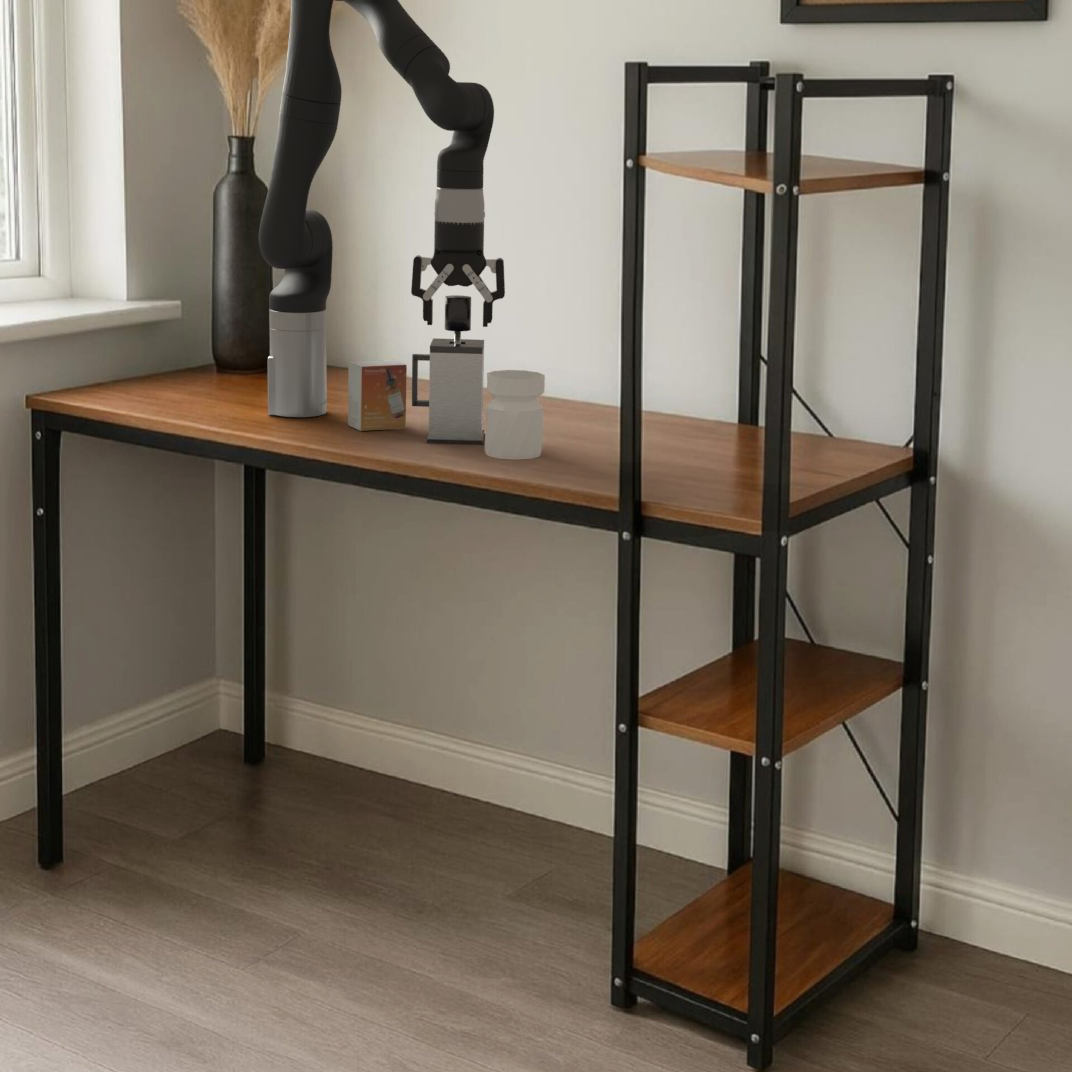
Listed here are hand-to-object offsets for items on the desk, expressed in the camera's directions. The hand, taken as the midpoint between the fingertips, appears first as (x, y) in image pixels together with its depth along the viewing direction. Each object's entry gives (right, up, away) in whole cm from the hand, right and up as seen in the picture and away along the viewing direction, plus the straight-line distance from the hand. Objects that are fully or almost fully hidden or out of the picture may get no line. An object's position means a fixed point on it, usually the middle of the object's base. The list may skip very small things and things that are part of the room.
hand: (457, 325), depth 258 cm
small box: (-13, -15, +11) cm, 23 cm away
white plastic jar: (+9, -20, -5) cm, 22 cm away
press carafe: (-2, -17, +5) cm, 18 cm away
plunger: (0, -16, +4) cm, 17 cm away
